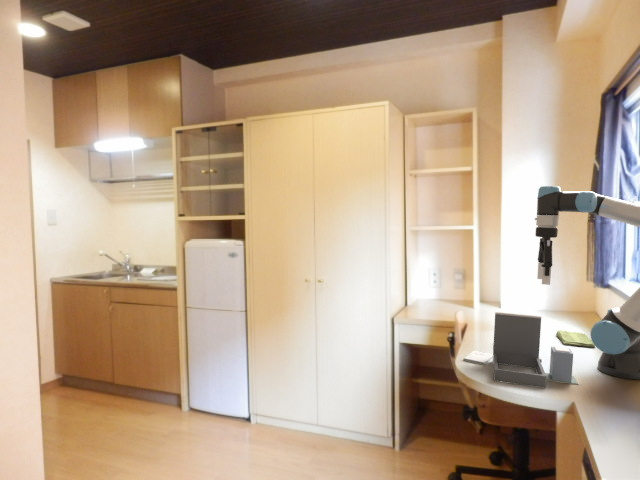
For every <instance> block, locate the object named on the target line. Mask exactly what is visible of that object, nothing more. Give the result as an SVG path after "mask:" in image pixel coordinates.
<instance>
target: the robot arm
mask: <svg viewBox="0 0 640 480" xmlns="http://www.w3.org/2000/svg"><path fill="white" fill-rule="evenodd" d="M536 199H537V206H536V217H535V218H534V220H535V221H536V222H535V223H536V228H535V237H536V238H537V237H539V238H540V239H539V243H538V244H539V247H538V254H537V255H538V256H537V263H538V264H537V280H541V285H548V286H550V285H551V278H552V277H551V273H552V267H553V266H554V265H553V240H551V238H554V239H555V238H557V237H558V231H559V228H558V227H559V221H560V220H559V219H560V218H559V217H560V215H559V214H560V212H561V213H565V212H566V213H567V212H569V213H588V214H591V215H594V216H598V217H602V218H606V219H610V220H613V221H616V222H620V223H624V224H627V225H630V226H634V227H637V228H640V204H638V203H633V202H629V201H625V200H622V199H618V198H613V197H610V196H606V195H605V196H604V195H602V194H599V193H596V192H594V191H588V190H581V191H579V190H577V191H575V190H574V191H562V190H561V186H556V185H550V186H549V185H546V186H540V187H539V188H538V193H537V198H536ZM590 339H591V340H592V342H593V344H594V345H595V348H597V349H598V350H599V351H601V352H602V353H601V355H600V357H599V360H598V362H597V370H599V371H601V372H602V373H604V374H607V375H610V376H612V377H617V378H622V379H629V380H640V286H639V287H638V289H636V290H635V292H633V294H632V295H630V297H629V298H628V299H627V300H626V301H625V302H624V303H623V304H622V305H621V306H620V307H619V306H618V307H612V308H609V309H607V312H606V315H604V316H603V318H602V319H600V320H599V321H598V322H596V323H594V324H593V326H592V327H591V330H590Z"/></svg>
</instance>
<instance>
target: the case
mask: <svg viewBox="0 0 640 480" xmlns="http://www.w3.org/2000/svg"><path fill="white" fill-rule="evenodd" d="M541 326H542V316H540V315H534V314H533V315H531V314H522V313H521V314H519V313H511V312H500V311H499V312H498V311H495V312H494V328H493V331H494V332H493V348H492V354H493V358H492V368H493V369H492V370H493V371H494V372H493V380H494V382H495V381H496V382H500V381H502V383H507V382H508V384H509V383H510V384H514V383H516V384H515V385H523V386H528V387H536V388H542V389H543V388H544V389H546V386H547V380H546V374H545V373H546V371H545V370H544V367H543V365H542V362H543V361H542V360H543V359H542V357H541V356H540V343H541V342H540V341H541V329H542V327H541ZM498 365H504V366H505V365H506V366H512V367H520V368H527V369H528V368H529V369H535V372H536V373H532V372H531V373H530V372H523V371H516V370H509V369H501V368H499V366H498Z"/></svg>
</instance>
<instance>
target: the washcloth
mask: <svg viewBox="0 0 640 480" xmlns="http://www.w3.org/2000/svg"><path fill="white" fill-rule="evenodd" d="M556 331H557V332H556V333H555V335H556V337H557V338H558V339H559V340H560V341H561V342H562V343H563V345H564V346H572V347H573V346H575V347H584V348H585V347H586V348H594V347H595V348H596V346H595V345H594V344H593V342H592V340H591V337H589V336H588V335H587V334H586V333H582V332H576V331H575V332H573V331H566V330H556Z"/></svg>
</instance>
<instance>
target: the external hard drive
mask: <svg viewBox="0 0 640 480" xmlns="http://www.w3.org/2000/svg"><path fill="white" fill-rule="evenodd" d="M491 360H493V353H487V352H481V351H478V350H472V351H471V352H470V353H469V354H467V355H466V356H465V357H463V361H464V362H467V363H468V362H469V363H473V364H478V365H482V366H485V364H486V363H487V364H488V363H489V362H490V361H491ZM487 364H486V365H487Z"/></svg>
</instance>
